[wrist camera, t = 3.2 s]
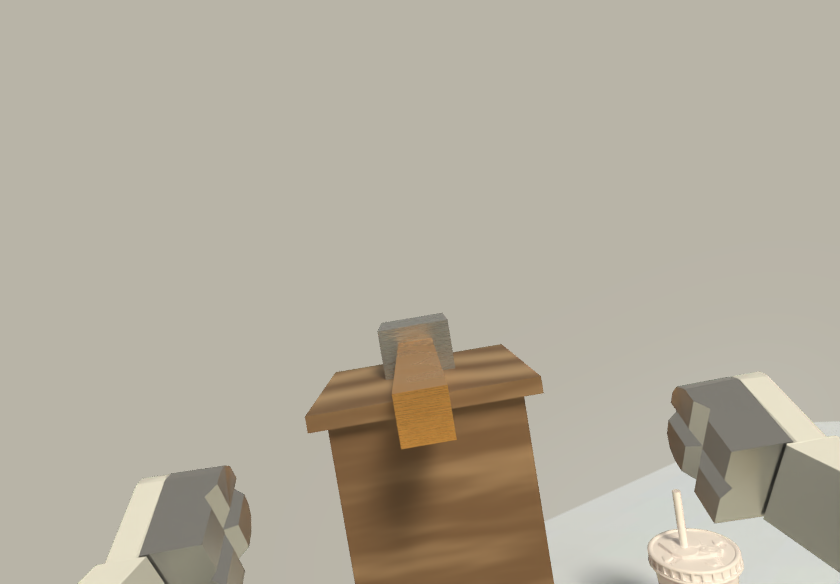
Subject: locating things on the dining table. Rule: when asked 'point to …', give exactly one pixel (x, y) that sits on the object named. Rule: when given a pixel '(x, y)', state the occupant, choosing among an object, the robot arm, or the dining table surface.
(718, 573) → the smoothie
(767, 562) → the dining table surface
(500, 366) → the stand
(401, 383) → the mallet
